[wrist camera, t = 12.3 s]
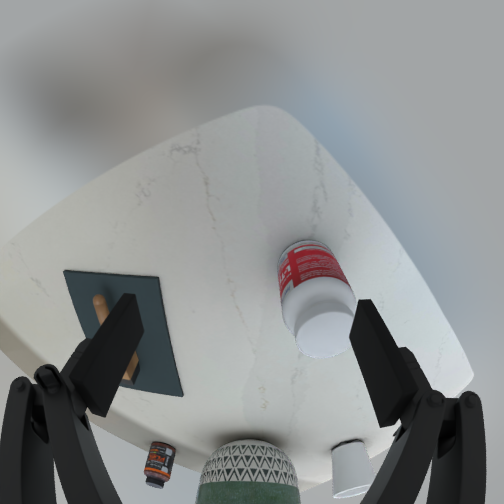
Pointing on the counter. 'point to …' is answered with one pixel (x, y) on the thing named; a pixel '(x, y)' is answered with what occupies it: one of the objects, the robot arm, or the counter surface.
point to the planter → (248, 475)
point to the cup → (351, 469)
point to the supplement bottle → (159, 464)
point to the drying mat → (153, 318)
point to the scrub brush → (133, 366)
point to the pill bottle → (315, 299)
